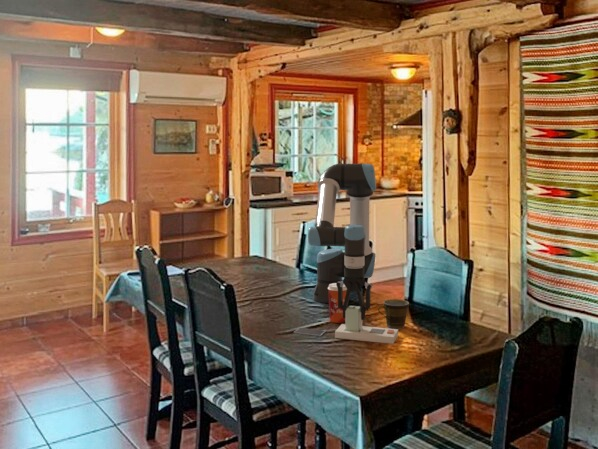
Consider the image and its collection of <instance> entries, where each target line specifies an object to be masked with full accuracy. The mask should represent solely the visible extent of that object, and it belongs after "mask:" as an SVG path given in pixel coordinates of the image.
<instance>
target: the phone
mask: <svg viewBox="0 0 598 449" xmlns="http://www.w3.org/2000/svg"><path fill="white" fill-rule="evenodd" d="M326 332H327V331H326V330H321V329H314V328H306V327H298V328H297V329H295V331H293V334H297V335H298V334H300V335H306V336H316V337H322V336H323V335H324V334H325V333H326Z"/></svg>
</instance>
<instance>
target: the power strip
mask: <svg viewBox="0 0 598 449" xmlns="http://www.w3.org/2000/svg"><path fill="white" fill-rule="evenodd" d="M398 337H399V329H390V328H388V327H377V326H367V325H366V326H365V325H362V328H361V331H360V332H353V331H346V327H345V323H341V324H340V325H339V327H338V328H337V329H335V331H334V339H343V340H351V341H362V342H371V343H372V342H373V343H382V344H393V345H394V344H395V342H396V340H397V338H398Z"/></svg>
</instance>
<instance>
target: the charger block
mask: <svg viewBox="0 0 598 449" xmlns="http://www.w3.org/2000/svg"><path fill="white" fill-rule="evenodd" d="M360 310H361V309H360V305H358V306H357V305H348V308H347V318H346V331H353V332H360V331H361V329H359V311H360Z"/></svg>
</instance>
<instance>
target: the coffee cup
mask: <svg viewBox="0 0 598 449" xmlns="http://www.w3.org/2000/svg"><path fill="white" fill-rule="evenodd" d="M328 291H329V303H328V308H329V321H330V322H331V323H336V324H340V323H341V324H343V323H345V318H343V310H342V309H341V308H338V288H337V285H336V283H333V284H329V286H328ZM346 291H347V288H346V286H345V285H344V284H343V305H344V301H345V297H346Z"/></svg>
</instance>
